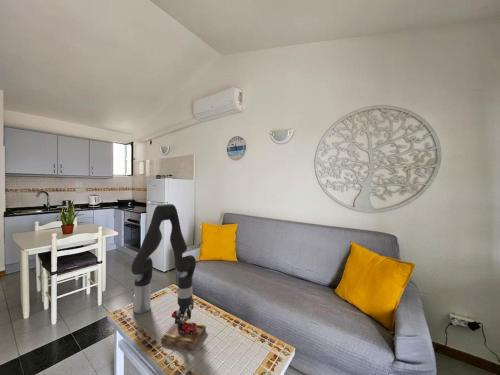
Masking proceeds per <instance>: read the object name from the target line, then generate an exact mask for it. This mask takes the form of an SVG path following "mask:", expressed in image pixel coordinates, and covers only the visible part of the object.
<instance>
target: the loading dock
mask: <svg viewBox="0 0 500 375" xmlns="http://www.w3.org/2000/svg"><path fill="white" fill-rule="evenodd" d="M186 322H187V323H188V325H189V326H191V325H192V323H193V322H191V321H188V320H187V321H186ZM195 323H196V322H195ZM196 325H197V332H196V333H195V334H192V335H191V334H189V333H183V331H182V333H181V332H180V331H178V324H175V322H174V323H173V324H172V325H171V326H170V327H169V328H168V329H167V330H166V331H165V333H163V335H162V336H160V343H161V344H164V345H166V346H167V345H168V346H171V347H176V348H179V349H183V350H187V351H192V352H193V351H194V350H195V348H196V346H198V344H199V342H200V341H201V339H202V338H203V336H204V335H205V333H206V328H207V325H204V324H200V323H196Z"/></svg>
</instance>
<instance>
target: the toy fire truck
mask: <svg viewBox="0 0 500 375" xmlns="http://www.w3.org/2000/svg"><path fill="white" fill-rule="evenodd" d="M176 311H177V312H178V311H179V309H178V310H174V311H173V313H172V314H171V318H173V319H175V312H176ZM181 316H183V315H182V314H181ZM188 320H190V319H189V317H188V316H187V314H185V317H184V318H183V321H182V330H178V331H180V332H181V333H182V331H183V333H189V334H191V335H192V334H195V333H196V332H197V325H196V322H192V325H191V326H189V325H188V323H187V322H188ZM186 321H187V322H186Z"/></svg>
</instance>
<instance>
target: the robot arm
mask: <svg viewBox="0 0 500 375" xmlns="http://www.w3.org/2000/svg"><path fill="white" fill-rule="evenodd" d="M164 221H169V222H170V224H171V232H170V237H169V241H170V245H171V248H172V250H173V251H172V252H173V258H174V267H175V270H176V271H177V272H179V273H181V274H180V275H179V276H178V283H177V284H178V285H177V287H178V288H177V305H178V306H179V308H178V310H179V311H178V312H177V310H175V311H176V312H175V318H174V323H175V324H178V330H182V321H183V320H184V317H185V315H186V316H188V317H189V319H188V320H191V319H192V312H193V309H194V298H193V291H194V290H193V276H194V273H195V270H196V267H197V266H196V265H197V260H196V258H195V256H194V255H192V254H189V255H186V256H183V254H184V253H186V251H187V250H188V247H187V246H188V245H187V244H186V242H185V239H184V236H183V232H182V229H181V225H180V224H181V223H180V219H179V215H178V210H177V208H176V206H175V205H174V204H173V203H164V204H163V203H162V204H157V206H155V208H154V211H153V214H152V217H151V220H150V225H149V227H148V229H147V231H146V234H145V236H144V238H143V240H142V244H141V245H140V248H139V251H138V252H137V254H136V255H135V257H134V259H133V261H132V264H131V273H132V274H133V275H134V276H137V277H136V278H135V279H134V293H133V294H134V295H133V296H132V312H134V313H135V314H137V315H141V314H142V315H143V314H146V313H148V312H149V311H150V310H151V306H152V305H151V302H152V301H151V300H152V299H151V298H152V297H151V296H152V294H151V293H152V292H151V291H152V287H151V286H152V285H151V284H152V278H153V269H154V268H153V259H152V258H151V257H150V256H151V255H152V254H153V253H154V252H155V251H156V250H157V249H158V248H159V246H160V244H161V242H162V238H163V235H162V231H161V224H162V222H164ZM181 314H182V315H183V316H181Z"/></svg>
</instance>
